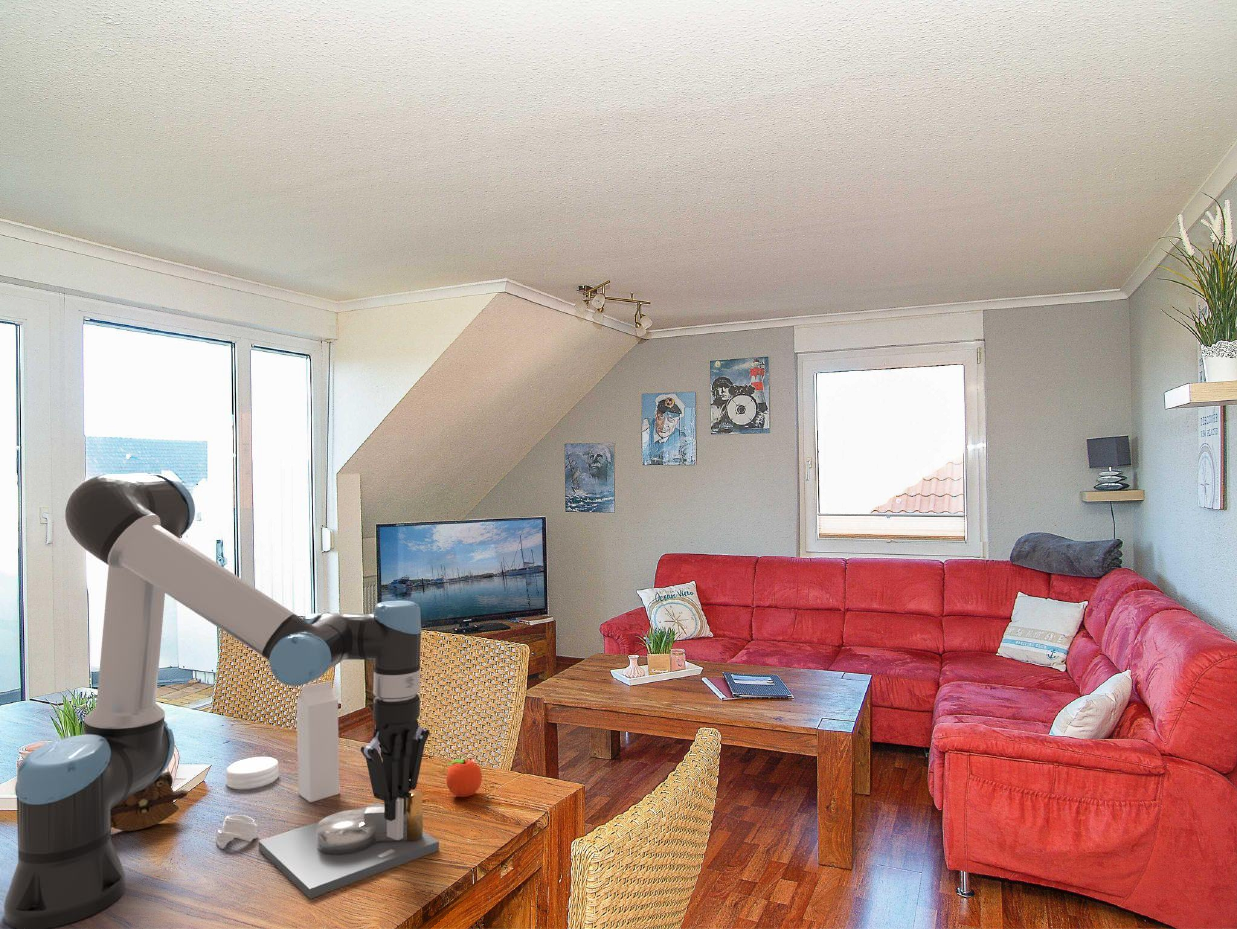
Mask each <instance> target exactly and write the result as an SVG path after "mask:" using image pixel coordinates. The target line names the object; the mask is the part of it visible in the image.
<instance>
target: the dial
mask: <svg viewBox="0 0 1237 929" xmlns="http://www.w3.org/2000/svg"><path fill="white" fill-rule="evenodd" d="M409 793H412V794H411V797H410V798H406V813H405V815H403V838H402V839H400V840H417V839H420V838H421V837H422V836H423V831H424V829H423V828H424V825H423V824H424V821H423V820H424V819H423V817H424V816H423V815H424V814H423V792H422V791H420V790H410V791H409ZM366 807H367V806H366ZM384 811H385V810H384V807H367V809H366V810H358V809H349V810H343V811H338V812H336V813H333V814H330V815H327V816H326V817H324V818H322V819H321V820H320V821H318V822H319V823H318V824H317V847H318V849H319V850H320V851H322V852H325V853H330V854H345V853H352V852H356V851H359V850H362V849H365V848H367V847H369V846H371V845H372V844H374V843H375V842H376V841H392V840H395V839H393V838H390V837H388V836H387V819H385V817H384Z"/></svg>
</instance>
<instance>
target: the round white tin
mask: <svg viewBox="0 0 1237 929" xmlns="http://www.w3.org/2000/svg"><path fill="white" fill-rule="evenodd" d="M279 769H280V768H279V761H278V760H277V759H276V758H274V757H271V756H254V757H248V758H245V759H241V760H237V761H235V762H233V763H231V764H230V765H229V766H228V767H227V768H226V770H225V774H226V776H225V778H226V785H227V787H229V789H233V790H252V789H257V788H261V787H265V786H267V785H270V784H271V783H274V782H275V781H276V780H277V779H278V778H279V776H280V774H279Z"/></svg>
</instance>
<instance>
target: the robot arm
mask: <svg viewBox="0 0 1237 929" xmlns="http://www.w3.org/2000/svg"><path fill="white" fill-rule="evenodd" d="M64 512H65V514H64V516H65V521H66V527H67V528H68V531H69V532H70V535H71V536H72V538H74V540H75V542H77V543H78V544H79V545H80V546H81V548H83V549H84V550H86V551H87V552H88V553H90V554H91V555H93V556H94V557H95V558H97V559H98V560H100V561H101V562H103V563H105V564H106V565H108V569H107V578H106V581H107V582H106V592H105V605H104V614H103V625H102V626H103V627H102V637H101V638H102V640H101V649H100V662H99V671H98V682H97V683H98V685H97V695H96V706H95V707H94V708H93V709H92V710H91V711H90V712H88V714H86V715H85V716H84V721H83V723H84V724H83V731H82V732H83V733H82V734H78V735H71V736H66V737H62V738H60V740H56V741H50V742H48V743H45V744H43V745H41V746H39V747H36V748H35V749H33V750H32V751H30V752H29V753H27V755H26V756H25V757H24V758H23V759H22V760H21V762H20V763H19V765H18V766H17V767H18V768H17V774H16V775H17V776H16V783H15V787H14V790H15V796H16V816H17V818H16V819H17V821H16V822H17V823H16V824H17V857H18V858H17V859H18V860H17V865H16V868H15V871H14V873H13V876H12V879H11V883H10V886H9V887H8V891H7V893H6V894H7V895H6V897H5V899H4V904H3V909H4V910H3V911H4V912H3V913H4V914H3V916H4V917H3V918H4V923H5V924H6V925H7V926H9V927H10V928H14V929H51V928H56V927H60V926H64V925H68V924H71V923H75V922H78V921H81V920H83V919H86V918H88V917H92V916H93V915H96V914H98V913H99V912H102V911H103V910H105V909H106V908H108V907H110V906H111V905H113V904H114V903H115V902H117V901H118V900H119V899H120V897H122V895H123V894H124V892H125V891H126V874H125V870H124V867H123V864H122V862H121V860H120V858H119V855H118V854H117V853H118V852H117V851H116V849H115V845H114V844H113V841H112V831H111V830H112V828H111V809H112V808H113V807H115V806H117V805H118V804H120V803H121V802H123V801H124V800H126V799H127V798H129V797H130V796H132V795H133V794H135V793H136V792H138V791H140V790H142V789H144V788H146V787H147V786H149V785H150V784H151V783H152V782H154V781H155V780H156V779H157V778H158V776H160V775H161V774H162V773H165V771H166V769H168V767H169V765H170V764H171V761H172V759H173V756H174V753H175V742H176V741H175V736H174V732H173V729H171V728H169V727H168V723H167V722H166V720H165V715H166V712H165V710H164V709H163V708H162V707H160V706H159V705H158V704H157V693H158V692H157V691H158V681H159V680H158V679H159V668H160V658H161V657H160V656H161V655H160V654H161V647H162V646H161V645H162V634H163V624H164V611H165V598H166V595H167V596H168V597H171V598H172V599H174V600H176V601H177V602H178V603H180V604H182V606H185V607H186V608H187V609H189V610H190V611H192V612H194V613H195V614H197V615H198V616H200V618H203V619H205V620H206V621H207V622H209V623H210V624H212V625H214V626H215V627H217V628H218V629H220V630H221V631H223V632H224V633H226V634H227V635H229V636H231V637H232V638H234V639H236V640H237V641H238V642H239V643H242V644H243V645H245V646H246V647H248V648H249V649H251V650H252V651H253V652H255V653H257V654H258V655H260V656H261V657H263V658H265V659H266V660H267V661H268V662H269V663H268V664H269V669H270V671H271V672H272V675H273V676H274V678H275V679H276V680H277V681H278V682H280V683H281V684H283V685H285V686H288V687H300V686H305V685H308V684H309V683H311V682H314V681H316V680H318V679H320V678H321V677H322V676H323V675H324V674H326V672H328V671H329V670H330V669H332V668H333V667H335V666H338V664H340V663H341V662H343V661H344V660H345V661H347V660H349V661H351V660H352V661H353V660H354V661H355V660H358V661H359V660H360V661H361V660H364V661H369V660H370V661H371V660H373V687H372V688H373V689H372V694H373V695H374V696H375V697H374V698H373V701H372V702H373V704H372V706H373V707H372V708H373V710H372V713H373V714H372V716H373V717H372V718H373V722H374V724H375V728H374V731H373V732H372V734H373V735H372V737H373V738H372V740H371V741H370V742H369V743H368V744H367V745H366V744H363V745H362V746H361V747H360V753H361V754H362V755H363V757H364V758H365V761H366V765H367V770H368V775H369V780H370V784H371V785H370V786H371V789H372V793H373V794H372V795H373V798H375V799H376V800H380V801H383V802H384V803H383V806H384V810H385V811H384V817H385V819H387V836H388V837H390V838H393V839H395V840H400V839H402V838H403V815H405V813H406V798H410V797H411V794H412V793H409V792H410V791H415V790H416V788H417V785H418V780H419V775H420V771H421V766H422V762H423V756H424V751H425V745H426V743H427V740H428V738H429V736H430V734H431V733H430V730H429V729H428V728H424V727H421V726H420V724H419V721H418V719H419V717H420V715H421V697H420V695H419V693H420V691H421V650H422V649H421V648H422V647H421V646H422V645H421V644H422V642H421V641H422V631H423V630H422V625H421V624H422V623H421V608H420V606H419V604H418V603H416V602H414V601H410V600H386V601H381V602H378V603H377V604H375V607H374V611H373V613H341V612H340V613H338V612H337V613H335V612H334V613H332V612H329V611H327V612H326V611H325V612H322V613H320V612H319V613H309V614H306V615H305V616H304V617H303V618H302V617H300V616H298V615H296V614H295V613H294V612H293V611H291V610H290V609H288V608H286V607H285V606H283V605H282V604H280V603H279V602H278V601H276V600H274V599H272V598H271V597H270V596H268V595H267V594H265V593H263V592H262V591H260V590H259V589H258V588H256V587H254V586H253V585H251V584H249V583H248V582H247V581H245V580H243V579H242V578H240V577H239V576H238V575H236V574H235V573H233V572H231V571H229V570H228V569H226V568H225V567H224V566H222V565H221V564H219V563H218V562H216V561H215V560H213V559H211V558H210V557H208V556H207V555H206V554H204V553H202V552H201V551H199V550H198V549H196V548H194V547H193V546H191V545H190V544H189V543H187V542H186V541H184V540H182V539H181V537H182V536H183V535H184V534H185V533H187V531H188V530H189V529H190V528H191V526H192V524H193V522H194V519H195V515H196V506H195V502H194V499H193V495H192V494H191V492H190V491H189V489H188V488H186V486H185V485H184V484H183V482H180V481H179V480H178V479H176V478H174V477H173V476H169V475H166V474H158V473H152V472H148V473H147V472H141V473H124V474H123V473H122V474H121V473H120V474H115V473H113V474H112V473H111V474H110V473H109V474H102V475H97V476H94V477H92V478H90V479H87V480H86V481H84V482H82V483H81V484H80V485H79V486H78V487H77V488H76V489H75V490H74V491H72V493H71V495H70V496H69V498H68V500H67V504H66V507H65V511H64Z"/></svg>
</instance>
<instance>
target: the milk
mask: <svg viewBox="0 0 1237 929" xmlns="http://www.w3.org/2000/svg"><path fill="white" fill-rule="evenodd" d="M332 685H333V684H332V681H330V680H328V681H323V682H319V683H314V684H309V685H308V684H307V685H302V687H301V694H300V696H299V697H298V698H297V699H296V733H297V734H296V735H297V736H296V737H297V746H296V747H297V789H298V795H299V796H301V797H302V798H303V799H305V801H306V800H307V801H308V803H313V802H317V801H320V800H323V799H327V798H329V797H333V796H336V795H340V761H339V760H340V756H339V755H340V753H339V750H340V749H339V747H340V745H339V742H340V741H339V702H338V701H339V699H338V698H337V696H336V694H335V692H334V690H333V688H332V687H333V686H332Z"/></svg>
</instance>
